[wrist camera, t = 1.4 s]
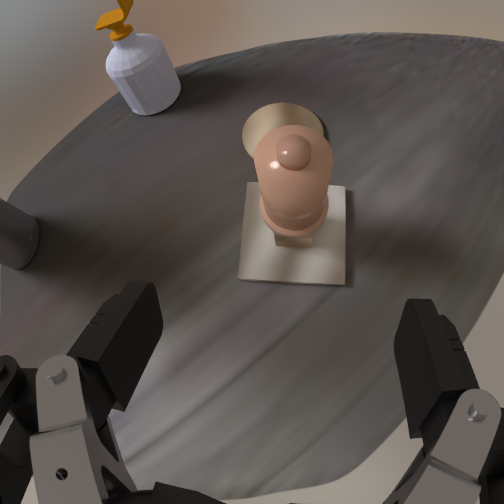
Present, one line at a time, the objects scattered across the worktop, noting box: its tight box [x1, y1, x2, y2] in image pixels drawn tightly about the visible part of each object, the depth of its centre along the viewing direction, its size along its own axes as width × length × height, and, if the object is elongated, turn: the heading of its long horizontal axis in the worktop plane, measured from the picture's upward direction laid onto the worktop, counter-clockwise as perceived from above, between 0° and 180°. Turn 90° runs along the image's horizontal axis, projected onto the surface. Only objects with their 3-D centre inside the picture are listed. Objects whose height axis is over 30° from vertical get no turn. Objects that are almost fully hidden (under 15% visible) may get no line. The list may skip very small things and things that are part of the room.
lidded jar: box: [254, 125, 333, 238], centre depth 26 cm, size 6×6×10 cm
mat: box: [242, 103, 324, 159], centre depth 42 cm, size 11×11×1 cm
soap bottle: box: [95, 0, 181, 115], centre depth 36 cm, size 9×9×25 cm
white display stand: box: [238, 182, 346, 286], centre depth 35 cm, size 12×12×8 cm
